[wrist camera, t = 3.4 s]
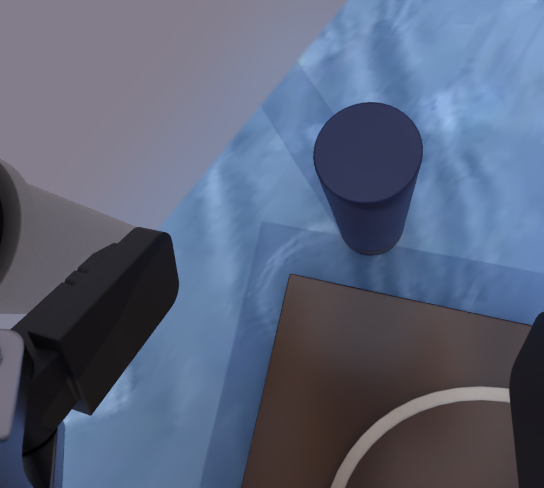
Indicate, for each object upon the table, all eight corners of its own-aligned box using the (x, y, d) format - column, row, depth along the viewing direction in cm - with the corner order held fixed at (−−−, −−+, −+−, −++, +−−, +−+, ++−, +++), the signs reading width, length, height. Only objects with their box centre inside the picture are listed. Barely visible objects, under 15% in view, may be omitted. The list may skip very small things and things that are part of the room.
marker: (334, 249, 20) (303, 194, 12) (347, 190, 21) (324, 96, 12) (396, 260, 20) (411, 212, 11) (408, 200, 20) (432, 107, 11)
